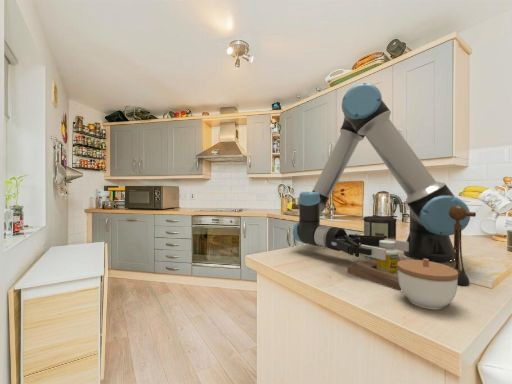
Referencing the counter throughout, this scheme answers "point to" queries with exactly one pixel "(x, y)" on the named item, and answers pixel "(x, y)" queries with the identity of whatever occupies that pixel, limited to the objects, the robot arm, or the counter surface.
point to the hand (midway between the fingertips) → (397, 250)
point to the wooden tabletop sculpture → (459, 241)
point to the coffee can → (379, 228)
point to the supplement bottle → (388, 257)
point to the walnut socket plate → (374, 273)
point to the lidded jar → (427, 283)
